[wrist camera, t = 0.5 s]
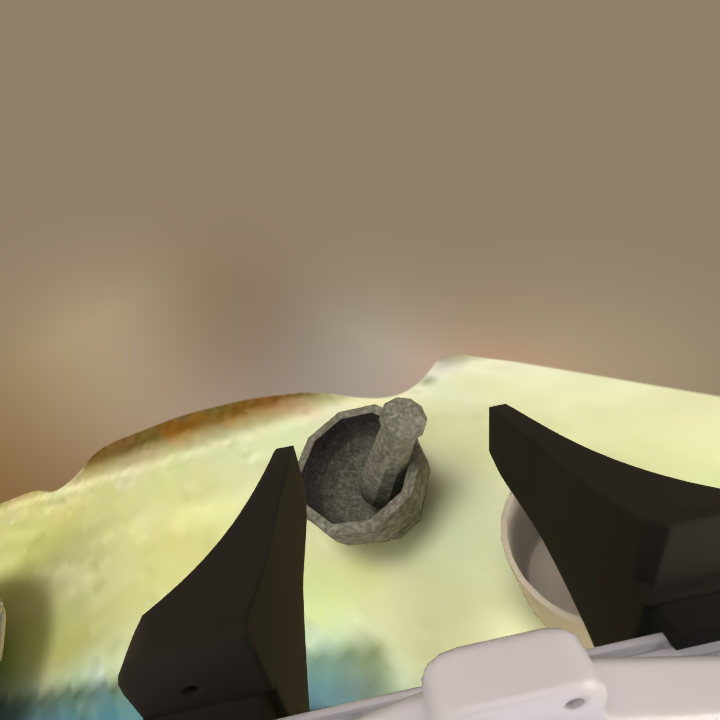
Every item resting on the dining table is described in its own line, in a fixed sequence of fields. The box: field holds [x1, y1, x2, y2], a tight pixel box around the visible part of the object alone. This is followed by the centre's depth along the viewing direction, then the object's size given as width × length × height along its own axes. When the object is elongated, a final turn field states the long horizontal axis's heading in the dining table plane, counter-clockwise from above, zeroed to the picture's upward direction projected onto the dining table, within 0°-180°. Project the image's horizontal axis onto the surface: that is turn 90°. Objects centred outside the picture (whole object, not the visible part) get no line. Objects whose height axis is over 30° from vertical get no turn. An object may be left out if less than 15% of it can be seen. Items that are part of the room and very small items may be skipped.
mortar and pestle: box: [298, 398, 430, 545], centre depth 28 cm, size 11×9×12 cm
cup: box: [501, 492, 594, 649], centre depth 22 cm, size 7×10×9 cm
